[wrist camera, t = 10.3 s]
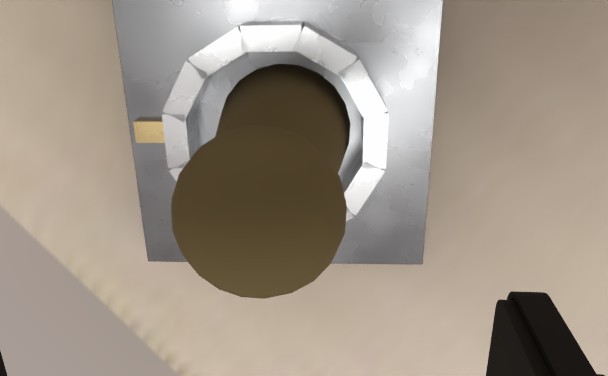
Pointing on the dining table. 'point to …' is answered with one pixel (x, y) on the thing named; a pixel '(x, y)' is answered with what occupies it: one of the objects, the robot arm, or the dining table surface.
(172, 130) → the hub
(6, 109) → the dining table surface
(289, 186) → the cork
